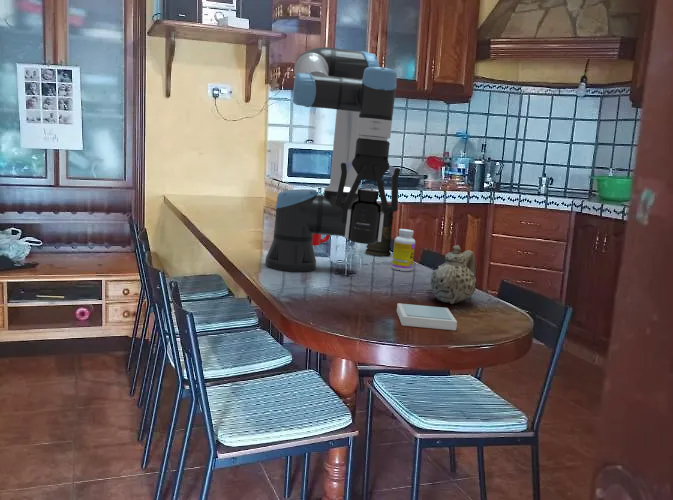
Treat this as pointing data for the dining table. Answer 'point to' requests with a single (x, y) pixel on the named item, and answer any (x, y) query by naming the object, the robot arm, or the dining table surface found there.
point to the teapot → (455, 277)
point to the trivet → (426, 316)
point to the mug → (319, 239)
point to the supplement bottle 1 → (365, 217)
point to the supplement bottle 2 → (403, 251)
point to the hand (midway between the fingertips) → (362, 239)
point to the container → (382, 240)
